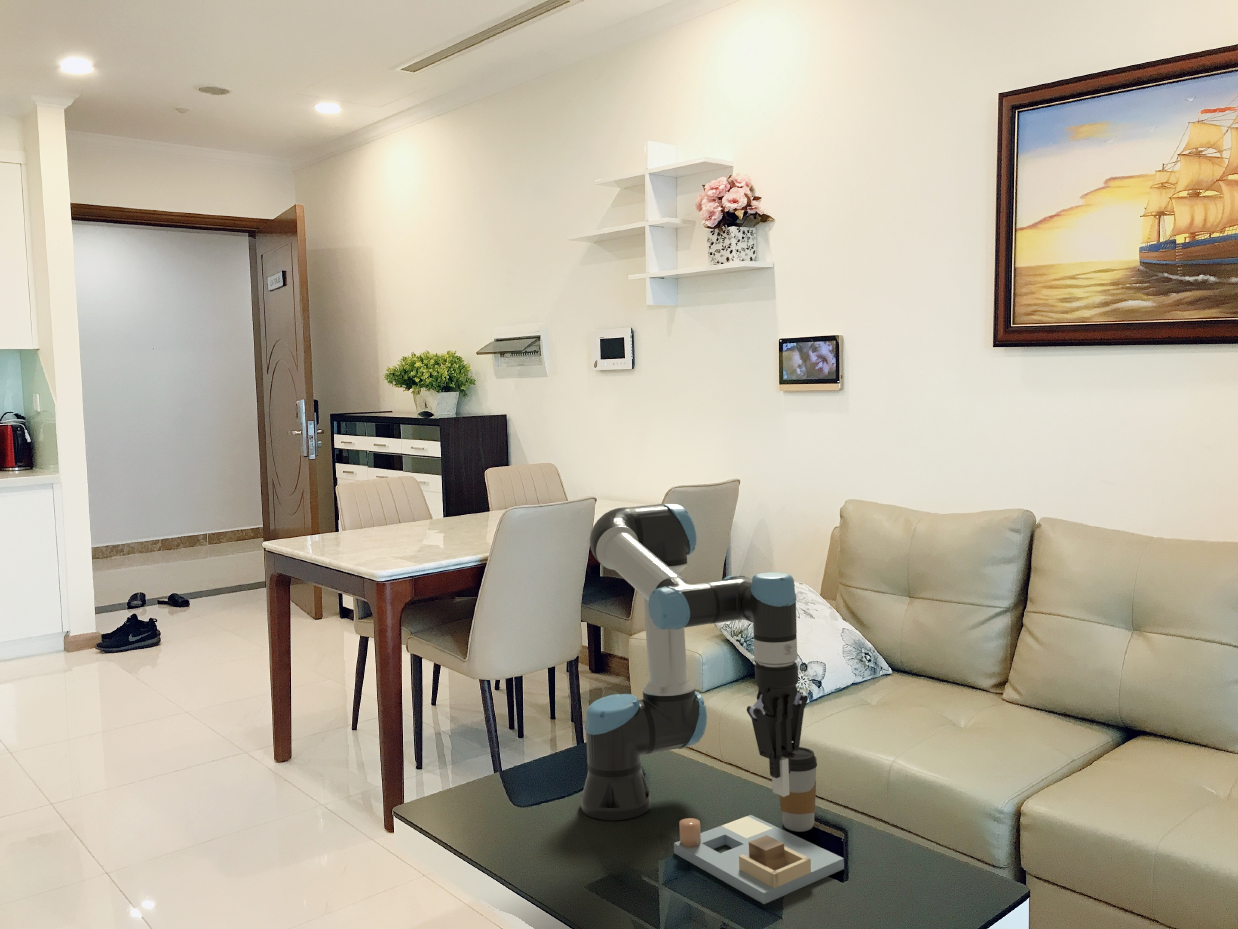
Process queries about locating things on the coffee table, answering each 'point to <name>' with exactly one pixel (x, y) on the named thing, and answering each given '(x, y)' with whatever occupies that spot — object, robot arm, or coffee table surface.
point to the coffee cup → (800, 792)
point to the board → (752, 876)
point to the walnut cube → (767, 852)
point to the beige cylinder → (690, 832)
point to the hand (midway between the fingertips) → (781, 793)
